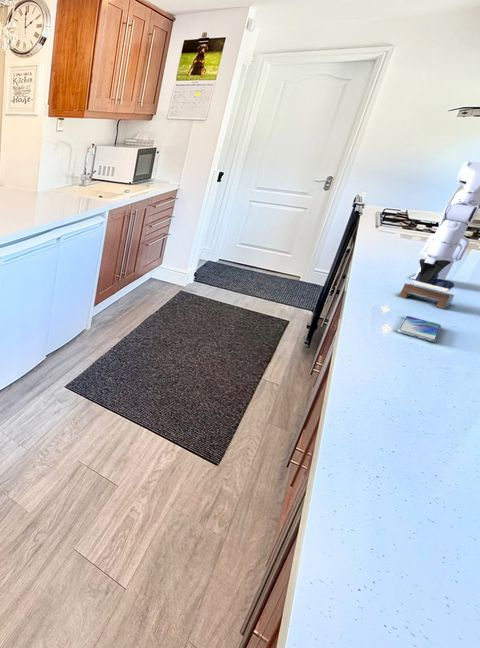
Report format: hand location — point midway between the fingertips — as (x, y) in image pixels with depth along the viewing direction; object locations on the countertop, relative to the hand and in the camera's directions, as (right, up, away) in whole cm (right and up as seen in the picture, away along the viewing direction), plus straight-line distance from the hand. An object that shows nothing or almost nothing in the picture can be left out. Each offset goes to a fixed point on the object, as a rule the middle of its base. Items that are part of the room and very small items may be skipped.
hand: (425, 280), depth 133 cm
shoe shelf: (0, -7, +1) cm, 7 cm away
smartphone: (-24, -14, -19) cm, 34 cm away
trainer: (+1, -2, -1) cm, 2 cm away
